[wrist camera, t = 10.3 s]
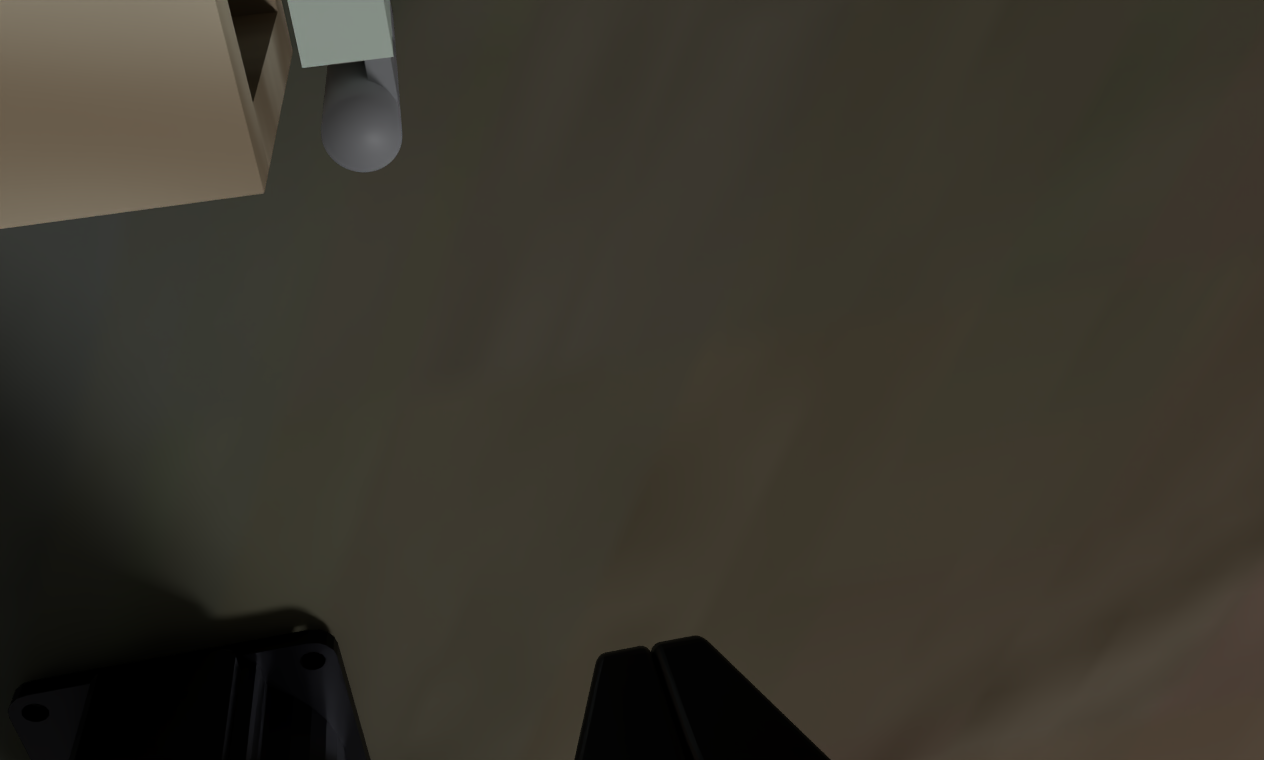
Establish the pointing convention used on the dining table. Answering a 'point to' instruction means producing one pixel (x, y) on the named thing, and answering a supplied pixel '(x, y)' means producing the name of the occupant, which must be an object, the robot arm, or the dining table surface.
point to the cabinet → (136, 103)
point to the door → (353, 77)
